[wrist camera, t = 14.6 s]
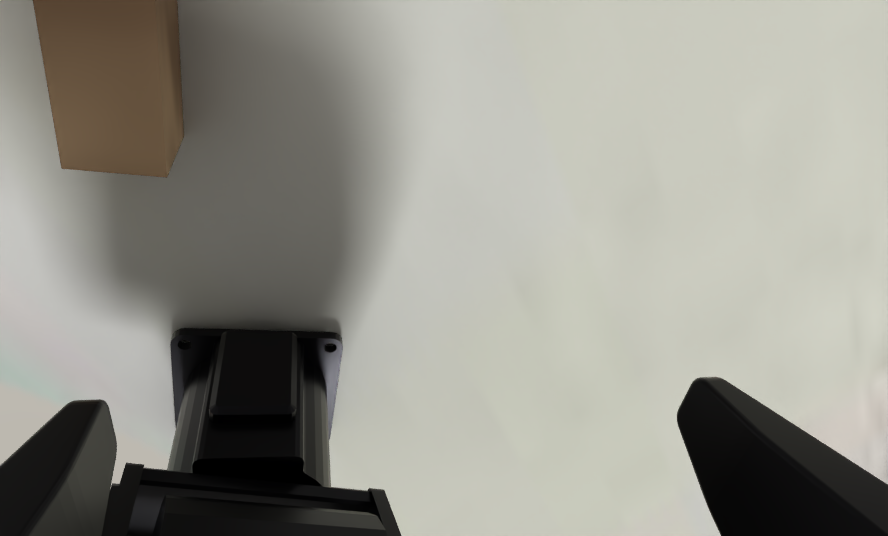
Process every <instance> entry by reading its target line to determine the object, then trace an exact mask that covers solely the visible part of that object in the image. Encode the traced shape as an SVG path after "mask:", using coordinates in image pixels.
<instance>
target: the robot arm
mask: <svg viewBox="0 0 888 536" xmlns="http://www.w3.org/2000/svg"><path fill="white" fill-rule="evenodd" d="M181 340H188V341H189V342H190V343H184V342H182V341H181ZM329 343H332V344H334V345H333V346H326V344H329ZM170 345H171V361H172V376H173V392H174V407H175V423H176V431H175V436H174V441H173V445H172V450H171V454H170V459H169V464H168V469H167V470H161V469H151V468H143V467H144V465H142V464H132V463H126V465H125V468H124V472H123V475H122V478H121V481H120V484H112V486H111V480H112V476H113V470H114V465H115V460H116V452H117V442H116V436H115V432H114V428H113V424H112V419H111V415H110V411H109V407H108V405H107V403H106V402H105V401H104V400H76V401H72V402H70V403H68V404H67V405H65V406H64V407H63V408H62V409H61V410H60V411H59V412H58V413H57V414H56V415H54V417H52V418H51V419H50V420H49V421H48V422H47V423H46V424H45V425H44V426H43V427H41V428H40V429H39V430H38V431H37V432H36V433H35V434H34V435H33V436H32V437H31V438H30V439H29V440H27V441H26V442H25V443H24V444H23V445H22V446H21V447H20V448H19V449H18V450H17V451H16V452H14V453H13V454H12V455H11V456H10V457H9V458H8V459H7V460H6V461H5V462H4V463H3V464H1V465H0V536H401V533H400V531H399V528H398V525H397V523H396V520H395V517H394V515H393V512H392V510H391V507H390V504H389V502H388V499H387V496H386V494H385V491H384V490H381V489H371V488H369V489H368V491H365V490H355V489H345V488H336V487H331V478H330V455H329V439H330V435H331V428H332V420H333V413H334V406H335V399H336V392H337V385H338V378H339V371H340V364H341V357H342V349H343V346H342V338H341V337H340V335H338V334H337V333H333V332H307V331H271V330H235V329H199V328H183V329H179V330H177V331H175V332H174V334H173V336H172V340H171V344H170ZM677 422H678V427H679V429H680V432H681V435H682V438H683V440H684V443H685V446H686V449H687V451H688V454H689V457H690V460H691V462H692V465H693V468H694V471H695V473H696V476H697V479H698V482H699V484H700V487H701V490H702V493H703V495H704V498H705V501H706V503H707V506H708V508H709V510H710V513H711V515H712V517H713V519H714V522H715V524H716V526H717V528H718V530H719V532H720V534H721V536H888V484H886V483H884V482H883V481H881V480H880V479H878V478H877V477H875V476H874V475H872V474H870V473H869V472H867V471H866V470H864V469H863V468H861V467H859V466H858V465H856V464H855V463H853V462H852V461H850V460H849V459H847V458H845V457H844V456H842V455H841V454H839V453H838V452H836V451H835V450H833V449H831V448H830V447H828V446H827V445H825V444H824V443H822V442H821V441H819V440H817V439H816V438H814V437H813V436H811V435H810V434H808V433H807V432H805V431H803V430H802V429H800V428H799V427H797V426H796V425H794V424H793V423H791V422H789V421H788V420H786V419H785V418H783V417H782V416H780V415H779V414H777V413H775V412H774V411H772V410H771V409H769V408H768V407H766V406H764V405H763V404H761V403H760V402H758V401H757V400H755V399H754V398H752V397H750V396H749V395H747V394H746V393H744V392H743V391H741V390H740V389H738V388H736V387H735V386H733V385H732V384H730V383H729V382H727V381H726V380H724V379H722V378H719V377H703V378H697V379H696V380H694V381H693V382H692V384H691V386H690V388H689V390H688V392H687V394H686V395H685V397H684V399H683V401H682V403H681V405H680V407H679V409H678V412H677ZM110 487H111V489H110Z"/></svg>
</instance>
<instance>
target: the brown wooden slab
mask: <svg viewBox="0 0 888 536" xmlns="http://www.w3.org/2000/svg"><path fill="white" fill-rule="evenodd" d="M33 4H34V10H35V15H36V21H37V27H38V33H39V39H40V45H41V51H42V56H43V62H44V68H45V74H46V80H47V86H48V91H49V97H50V103H51V109H52V115H53V121H54V127H55V132H56V138H57V144H58V150H59V156H60V162H61V168H62V169H73V170H85V171H97V172H109V173H121V174H132V175H144V176H156V177H167V176H168V174H169V171H170V169H171V166H172V164H173V161H174V159H175V157H176V154H177V152H178V149H179V147H180V144H181V142H182V140H183V137H184V128H183V107H182V87H181V66H180V45H179V24H178V4H177V0H33Z"/></svg>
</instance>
